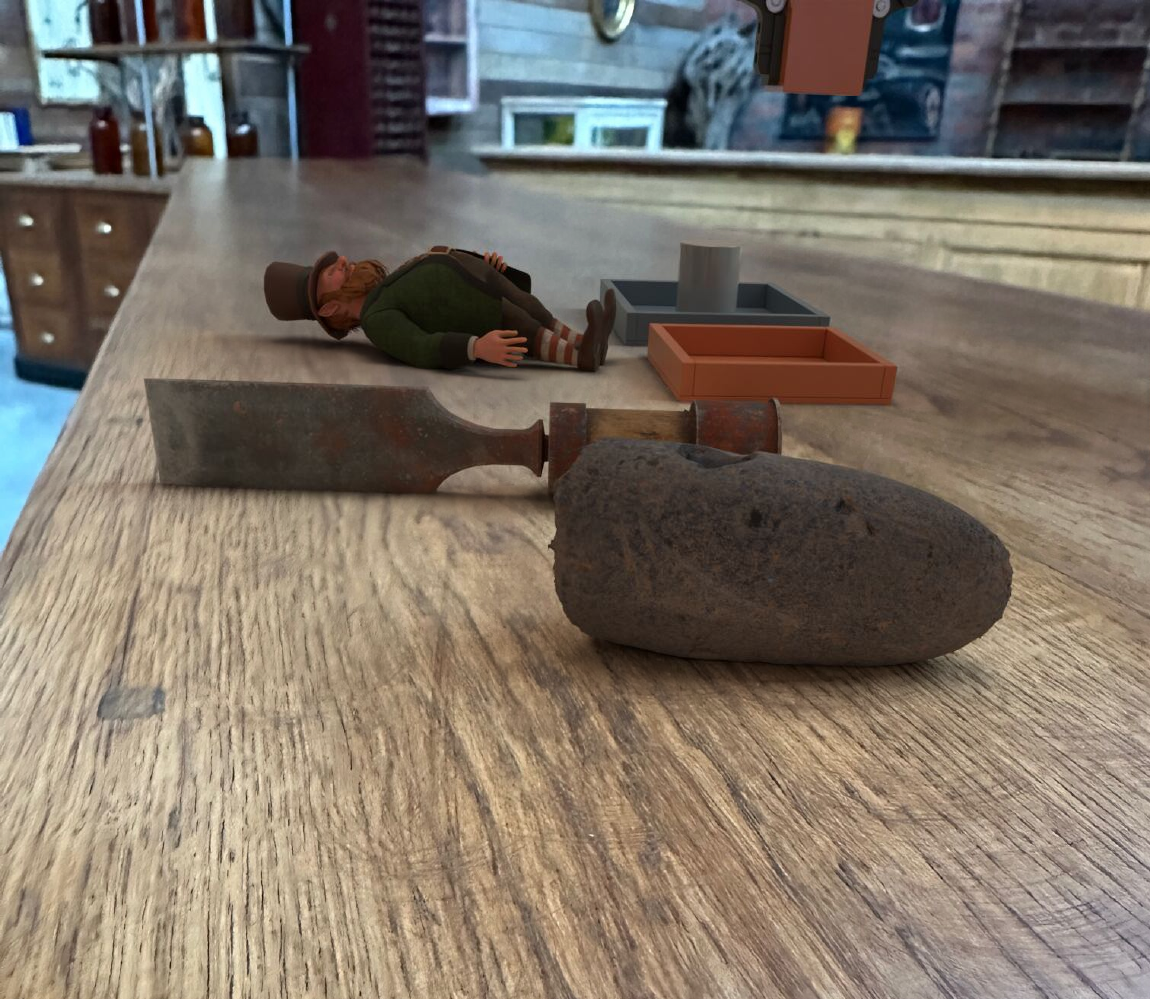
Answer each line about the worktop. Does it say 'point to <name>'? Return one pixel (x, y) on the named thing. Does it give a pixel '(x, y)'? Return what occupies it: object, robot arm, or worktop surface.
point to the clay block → (824, 47)
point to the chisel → (399, 435)
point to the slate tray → (658, 302)
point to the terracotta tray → (768, 364)
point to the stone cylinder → (708, 276)
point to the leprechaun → (438, 309)
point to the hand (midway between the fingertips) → (813, 86)
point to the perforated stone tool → (768, 558)
